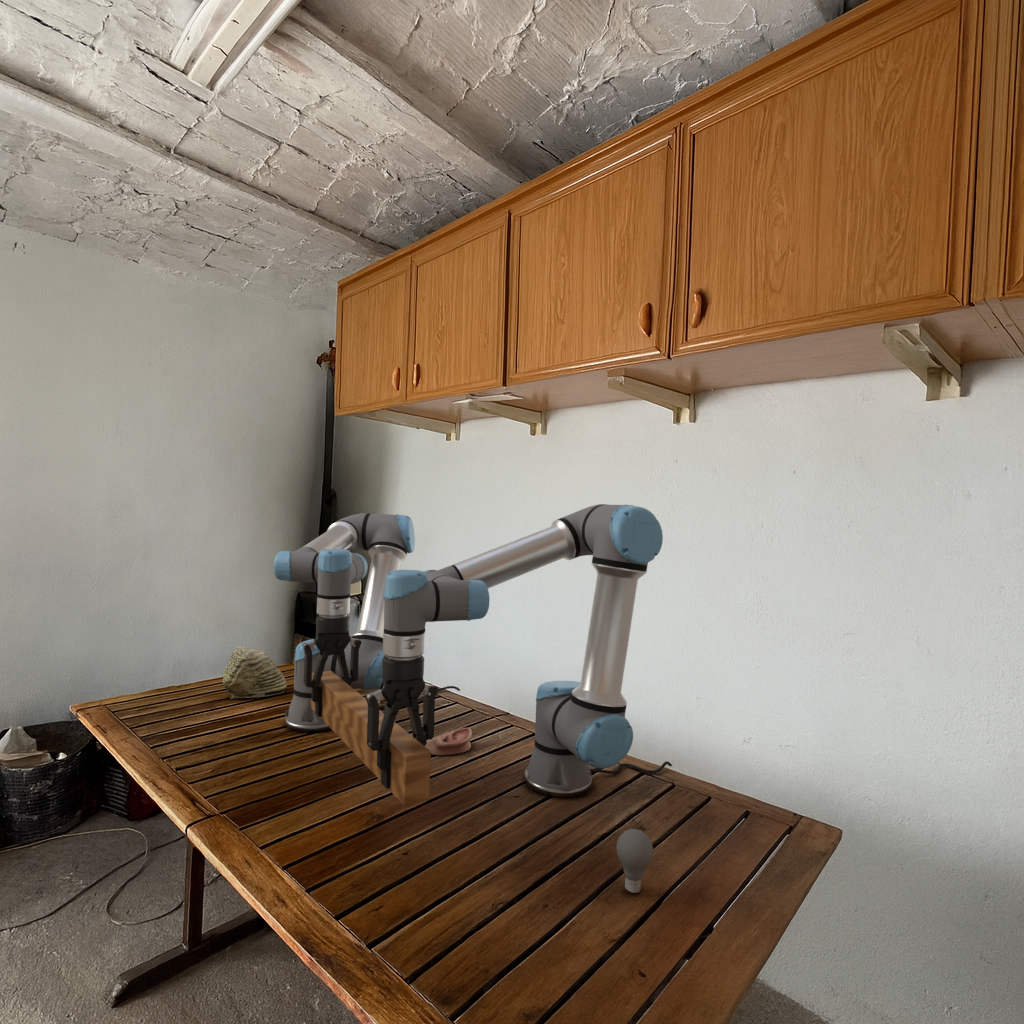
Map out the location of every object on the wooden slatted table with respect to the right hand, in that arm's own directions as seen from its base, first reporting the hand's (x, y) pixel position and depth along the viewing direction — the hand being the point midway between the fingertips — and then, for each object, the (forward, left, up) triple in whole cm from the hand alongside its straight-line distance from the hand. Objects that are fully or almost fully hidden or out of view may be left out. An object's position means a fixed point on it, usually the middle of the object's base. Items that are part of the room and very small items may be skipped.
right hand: (399, 781), depth 116 cm
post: (-2, -20, -1) cm, 20 cm away
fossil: (-6, -101, -12) cm, 102 cm away
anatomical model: (-33, -34, -12) cm, 49 cm away
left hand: (-4, -40, 0) cm, 41 cm away
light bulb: (-25, +34, -12) cm, 44 cm away
